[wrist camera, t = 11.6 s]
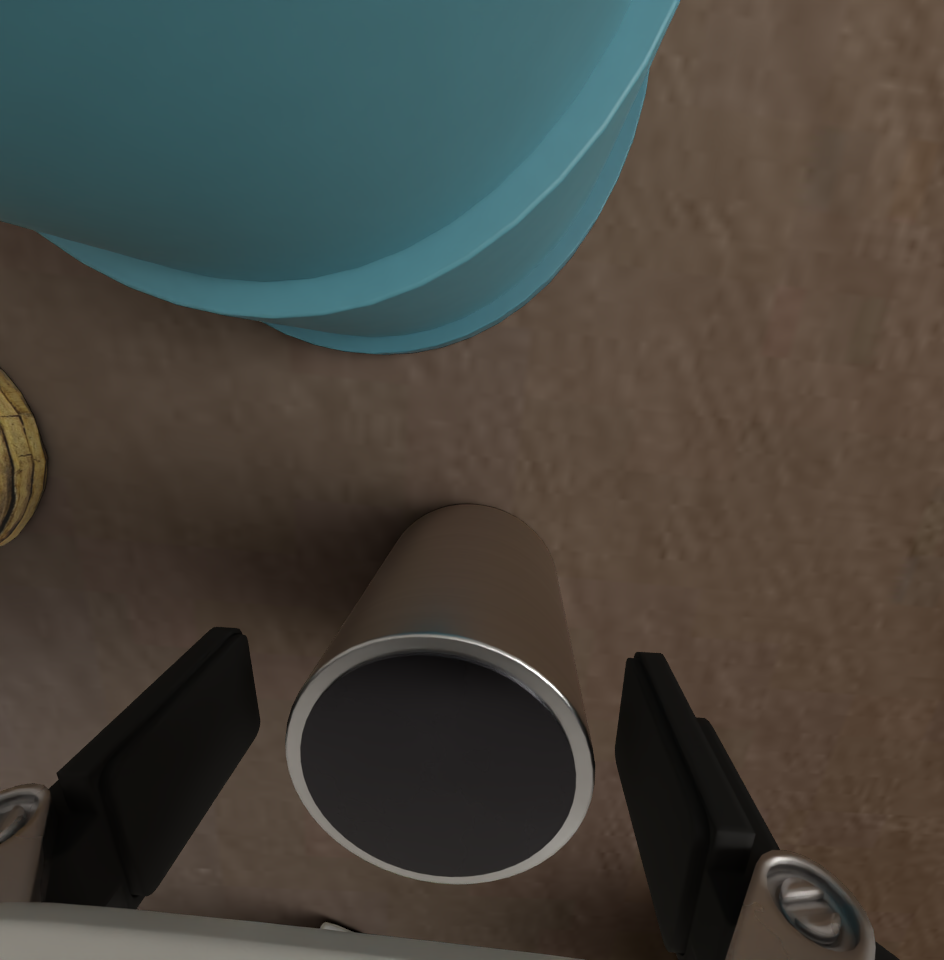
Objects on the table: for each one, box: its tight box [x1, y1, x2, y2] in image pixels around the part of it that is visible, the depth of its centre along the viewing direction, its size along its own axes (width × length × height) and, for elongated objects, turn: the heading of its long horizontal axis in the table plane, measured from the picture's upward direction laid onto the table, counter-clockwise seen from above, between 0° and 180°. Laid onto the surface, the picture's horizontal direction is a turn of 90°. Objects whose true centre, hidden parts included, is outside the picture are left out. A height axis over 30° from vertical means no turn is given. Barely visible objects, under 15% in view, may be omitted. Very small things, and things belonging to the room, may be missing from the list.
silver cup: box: [285, 504, 595, 884], centre depth 13 cm, size 7×7×8 cm
